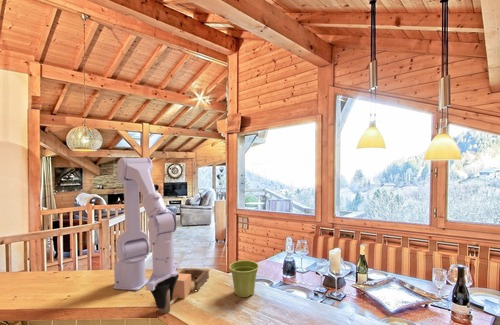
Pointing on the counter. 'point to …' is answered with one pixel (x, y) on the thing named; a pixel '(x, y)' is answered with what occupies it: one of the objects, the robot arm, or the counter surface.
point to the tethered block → (178, 291)
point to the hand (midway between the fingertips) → (164, 304)
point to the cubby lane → (197, 276)
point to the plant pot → (244, 277)
